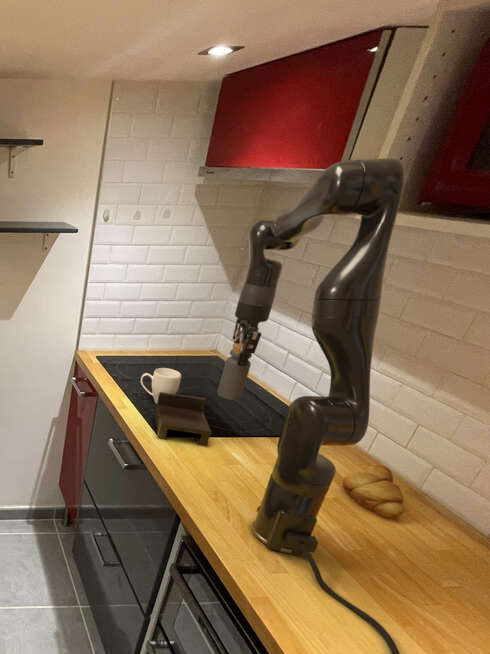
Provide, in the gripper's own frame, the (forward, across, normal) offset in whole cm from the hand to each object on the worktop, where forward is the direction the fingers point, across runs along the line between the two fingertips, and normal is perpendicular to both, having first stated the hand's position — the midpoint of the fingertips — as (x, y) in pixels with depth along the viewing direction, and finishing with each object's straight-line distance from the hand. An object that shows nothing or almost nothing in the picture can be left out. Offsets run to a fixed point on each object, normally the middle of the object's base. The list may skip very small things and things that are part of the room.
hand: (238, 361), depth 122 cm
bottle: (+11, 0, 0) cm, 11 cm away
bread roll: (+25, +20, +29) cm, 43 cm away
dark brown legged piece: (+25, -1, -10) cm, 27 cm away
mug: (+25, -20, -15) cm, 35 cm away
